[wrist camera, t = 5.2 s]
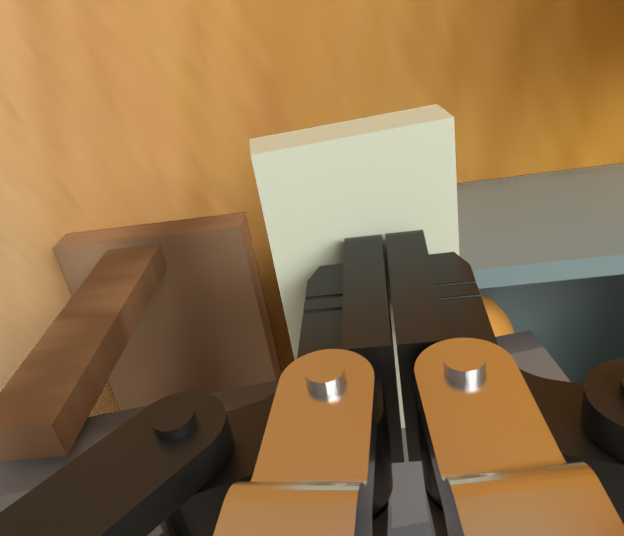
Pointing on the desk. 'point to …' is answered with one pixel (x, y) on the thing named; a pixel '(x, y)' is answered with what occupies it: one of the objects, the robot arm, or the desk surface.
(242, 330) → the stand
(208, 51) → the desk surface
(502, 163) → the desk surface
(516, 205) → the grey open bin
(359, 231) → the lever
